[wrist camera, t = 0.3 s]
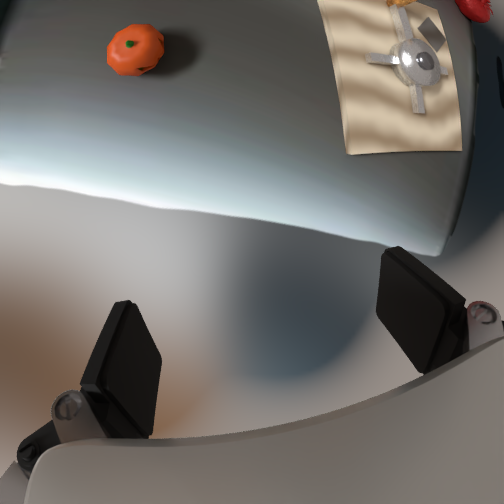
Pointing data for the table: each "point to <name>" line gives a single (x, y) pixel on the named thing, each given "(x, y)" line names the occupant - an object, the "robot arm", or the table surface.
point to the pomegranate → (475, 9)
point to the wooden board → (388, 80)
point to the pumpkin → (135, 49)
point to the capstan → (410, 57)
